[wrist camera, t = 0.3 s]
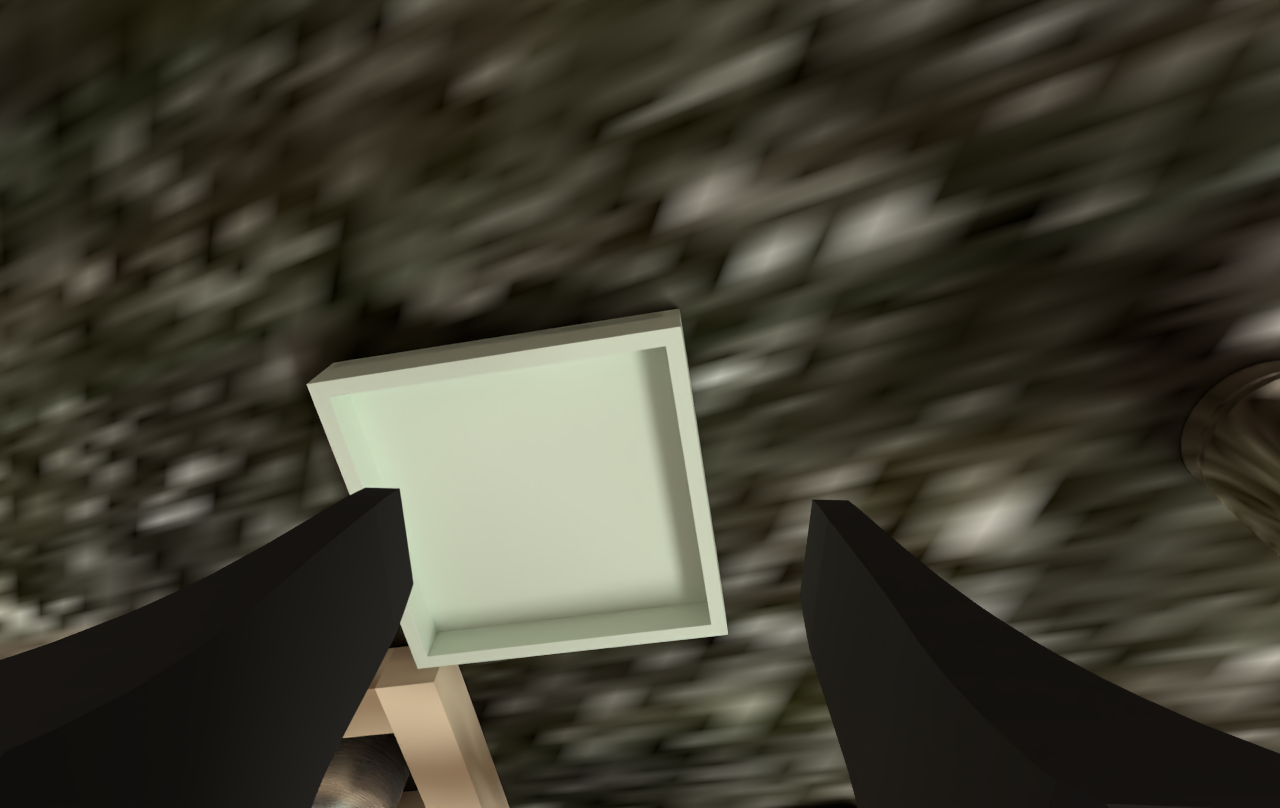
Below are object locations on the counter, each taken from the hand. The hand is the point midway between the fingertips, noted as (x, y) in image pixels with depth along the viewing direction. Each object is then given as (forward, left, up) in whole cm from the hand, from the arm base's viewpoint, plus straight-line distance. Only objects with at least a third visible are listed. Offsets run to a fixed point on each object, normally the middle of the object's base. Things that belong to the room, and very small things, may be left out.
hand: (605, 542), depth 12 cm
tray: (-4, +4, -10) cm, 12 cm away
